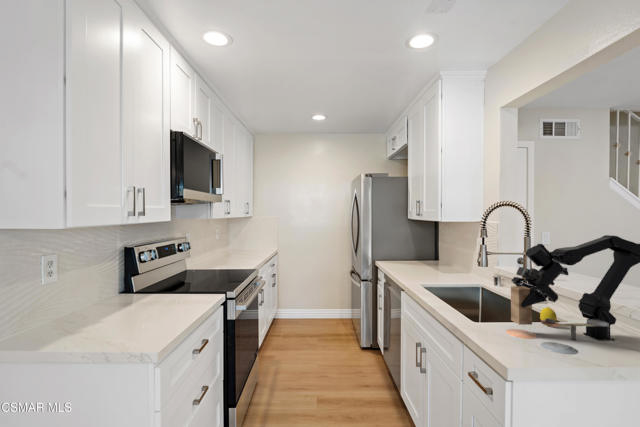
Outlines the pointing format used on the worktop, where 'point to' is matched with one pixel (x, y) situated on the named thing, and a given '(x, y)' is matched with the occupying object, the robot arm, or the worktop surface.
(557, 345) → the slate dish
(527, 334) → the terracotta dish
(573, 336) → the balance
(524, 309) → the walnut block
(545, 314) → the lemon
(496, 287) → the worktop surface
